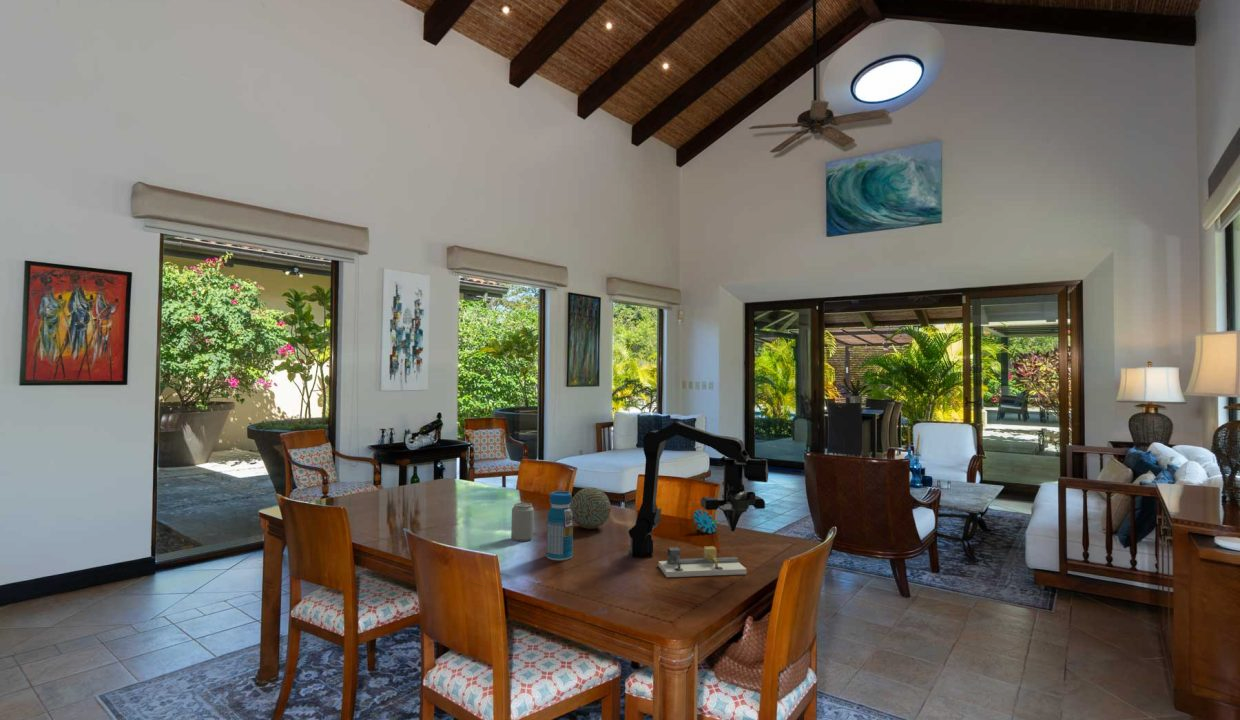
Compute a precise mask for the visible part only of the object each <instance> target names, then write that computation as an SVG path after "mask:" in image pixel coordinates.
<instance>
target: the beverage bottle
mask: <svg viewBox="0 0 1240 720" xmlns="http://www.w3.org/2000/svg"><path fill="white" fill-rule="evenodd" d="M572 495H573V494H572V492H570V491H564V490H563V491H562V490H560V491H558V490H557V491H552V492H550V494H549V503H550V505H551V506H550V507H549V509H548V511H547V514H546V516H547V520H546V553H545V554H546V558H547V559H549V560H551V561H558V562H559V561H561V562H562V561H567V560H570V559H571V558H572V557H573V541H574V540H573V538H574V525H575V524H574V522H575V521H574V520H573V511H572V509H571V507H570V504H571V501H572V498H573V496H572Z"/></svg>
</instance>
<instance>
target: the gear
mask: <svg viewBox="0 0 1240 720" xmlns="http://www.w3.org/2000/svg"><path fill="white" fill-rule="evenodd" d="M708 513H709V512H708V510H704V511H703V509H698V510H695V511H694V514H693V515H692V518H693V523H694V524H697V525H696V530H697V531H699V530H700V529H701V528H702V530H701V531H702V533H707V534H709V535H711V534H712V533H715V532H716V529H717V528H718V525H717V524H716V523H717V522H718V519H717V518H714V519H712V518H713V515H712V514H709V515H707V514H708Z"/></svg>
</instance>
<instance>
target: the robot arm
mask: <svg viewBox="0 0 1240 720" xmlns="http://www.w3.org/2000/svg"><path fill="white" fill-rule="evenodd" d="M676 436H679V437H682V438H684V439H687V440H690V441H693V442H695V443H698V444H701V445H704V446H706V447H710V448H712V449H714V450H715V451H716V452H718V454H721V455H723V456H722V457H721V458H720V459H719V460H718V461H717V462H716V464H717V465H721V466H723V481H722V484H721V485H722V486H723V494H722V495H721V499H718V498H716V497H714V496H702V498H701V500H700V506H701V507H702V508H703V509H704V510H705V511H714V510H715V511H717V510H718V509H719V510H720V511H722V512H723V514H724V516H725V519H726V522H727V524H728V528H729V530H730V531H731V532H735V529H736V528H737V525H738V522H739V520H740V517H741V516H742V514H744V513H745V512H747V511H748V509H749V507H750V506H752V508H754V509H757V510H762V509H763V510H764V509H766V502H765V500H764V499H763V498H762V497H760V496H758V495H756V493H755V491H745V484H744V480H743V478H745V479H747V481H748V482H756V483H768V480H769V469H768V468H769V467H768V466H769V465H768V459H767V458H761V459H755V458H754V459H753V458H751V456H750V455H749V453H748V452H747V451H746V449H745V444H744V441H743V440H741V438H738V437H733V436H726V435H719V434H715V433H712V432H708V431H705V430H702V429H700V428H697V427H694V426H692V425H689V424H686V423H684V422H682V421H675V422H672V423H671V424H670V425H667V426H665V427H663V428H661V429H659V430H658V429H657V430H652V431H649V432H647V433H645V434H644V435H643V437H642V447H643V453H644V457H645V467H644V478H643V488H642V501H641V505H640V507H639V510H638V512H637V516H636V521H635V525H633V527H631V528H630V529H628V531H627V532H628V535H629V538H630V547H629V548H630V549H629V550H628V552H629V553H630V555H631V557H632V558H652V557H654V556H653V553H654V540H653V539H652V535H651V534H652V533H653V531H654V529H655V528H657V527H658V525H659V523H660V522H661V521H662V519H661V514H662V508H658V505H657V493H658V485H659V484H658V482H659V470H660V460H661V457H662V454H663V453H664V449H665V446H666V442H667V441H668V440H671V439H672V438H674V437H676Z"/></svg>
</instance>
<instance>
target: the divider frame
mask: <svg viewBox="0 0 1240 720" xmlns="http://www.w3.org/2000/svg"><path fill="white" fill-rule="evenodd" d="M716 560H717V561H718V563H723V562H739V558H738V557H737V556H729V557H716ZM666 561H667V564H677V565H678V568H680V567H681V565H680V564H693V563H714V562H713V561H712V560H711V559H706V558H705V557H700V558H698V557H697V558H681V549H680V548H679V547H678V546H676V547H667V559H666Z"/></svg>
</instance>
